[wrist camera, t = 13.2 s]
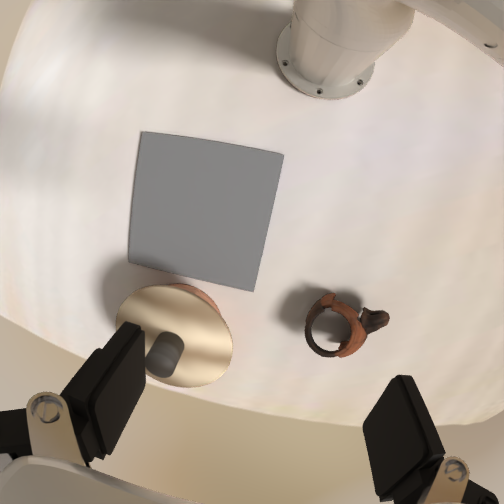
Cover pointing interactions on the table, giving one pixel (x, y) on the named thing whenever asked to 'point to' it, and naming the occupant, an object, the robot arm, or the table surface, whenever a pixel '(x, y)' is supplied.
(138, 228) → the mat
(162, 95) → the table surface
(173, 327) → the lid
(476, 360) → the table surface
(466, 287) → the table surface
